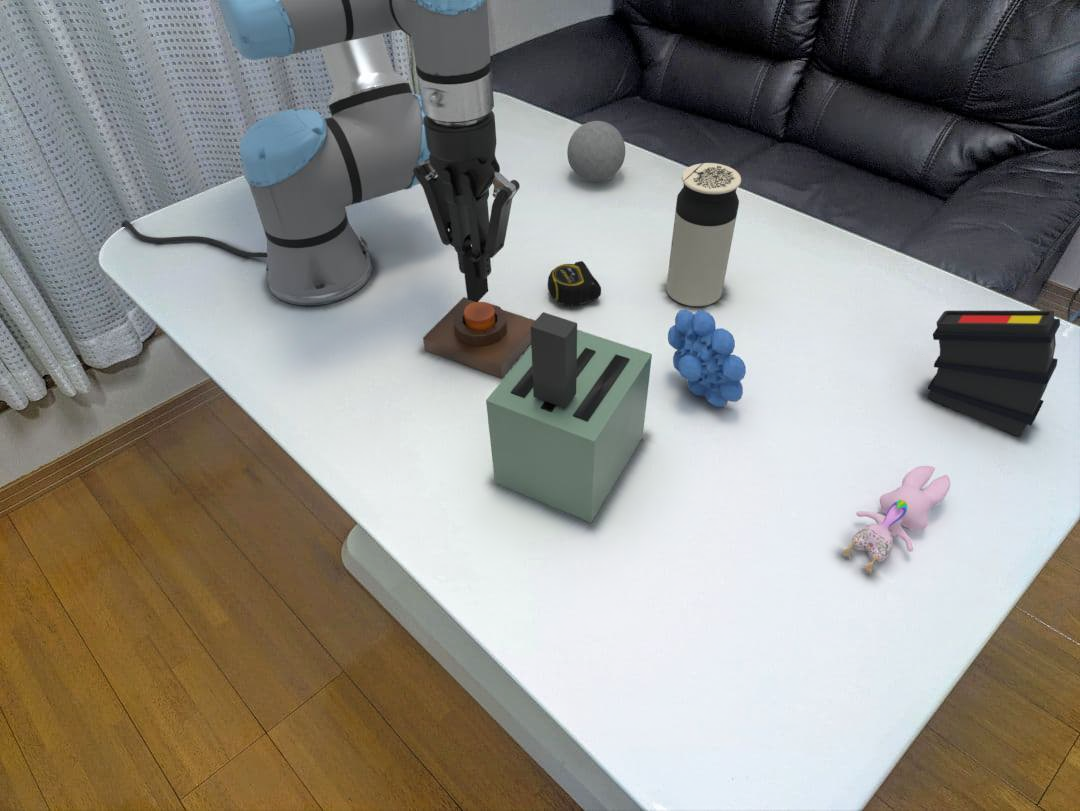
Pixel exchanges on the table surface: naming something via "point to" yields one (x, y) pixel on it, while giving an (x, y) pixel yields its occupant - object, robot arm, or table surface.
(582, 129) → the decorative ball
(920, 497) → the rabbit figure
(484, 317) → the button
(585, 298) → the tape measure
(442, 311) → the table surface
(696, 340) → the grapes
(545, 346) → the slider
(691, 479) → the table surface
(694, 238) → the travel mug
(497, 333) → the button block
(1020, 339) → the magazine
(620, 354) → the toaster
